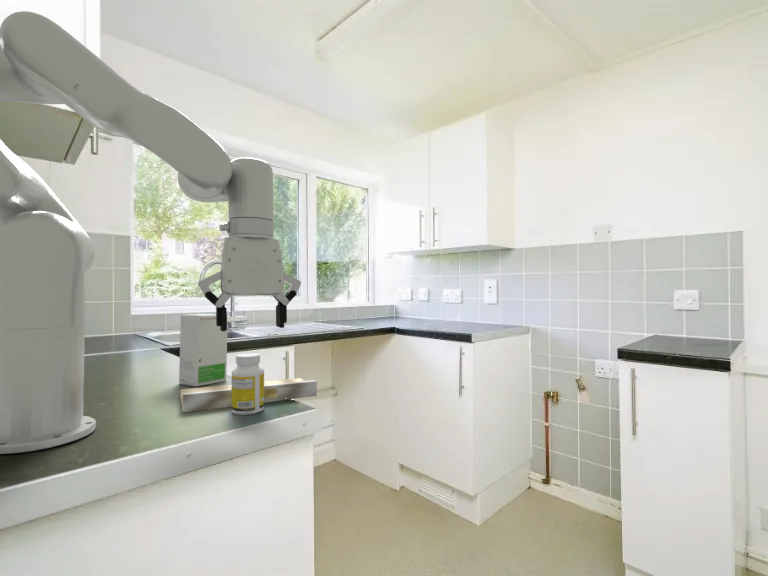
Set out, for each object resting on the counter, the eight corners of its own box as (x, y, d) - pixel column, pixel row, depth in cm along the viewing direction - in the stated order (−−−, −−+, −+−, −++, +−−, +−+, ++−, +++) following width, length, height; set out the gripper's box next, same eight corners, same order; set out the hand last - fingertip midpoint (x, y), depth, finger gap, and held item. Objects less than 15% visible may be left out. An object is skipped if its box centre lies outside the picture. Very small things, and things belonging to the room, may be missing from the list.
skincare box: (195, 387, 85) (196, 315, 85) (176, 384, 89) (178, 314, 89) (228, 380, 93) (229, 313, 93) (209, 377, 96) (210, 312, 96)
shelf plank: (182, 412, 68) (183, 395, 68) (180, 397, 78) (180, 381, 78) (317, 396, 79) (317, 381, 79) (300, 384, 89) (300, 371, 89)
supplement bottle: (252, 404, 73) (253, 351, 73) (270, 410, 70) (270, 354, 70) (225, 411, 69) (225, 354, 69) (242, 417, 66) (242, 358, 66)
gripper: (199, 225, 62) (200, 334, 62) (305, 231, 71) (307, 327, 71) (195, 231, 69) (197, 330, 69) (293, 236, 77) (294, 324, 77)
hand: (252, 328), depth 70 cm, fingers open, 9 cm apart
